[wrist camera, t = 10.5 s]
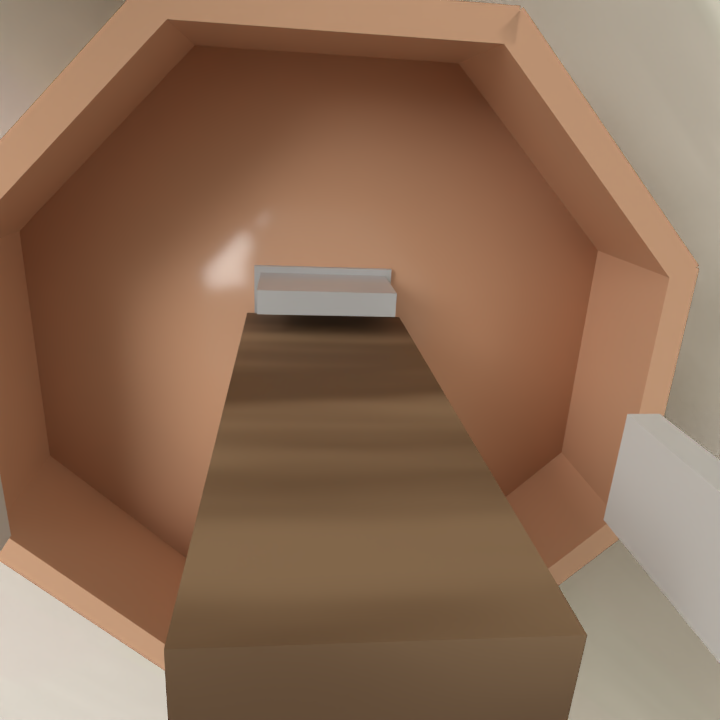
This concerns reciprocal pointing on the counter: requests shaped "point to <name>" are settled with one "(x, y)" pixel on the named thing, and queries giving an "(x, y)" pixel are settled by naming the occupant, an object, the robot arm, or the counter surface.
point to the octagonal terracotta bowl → (312, 267)
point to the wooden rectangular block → (358, 549)
